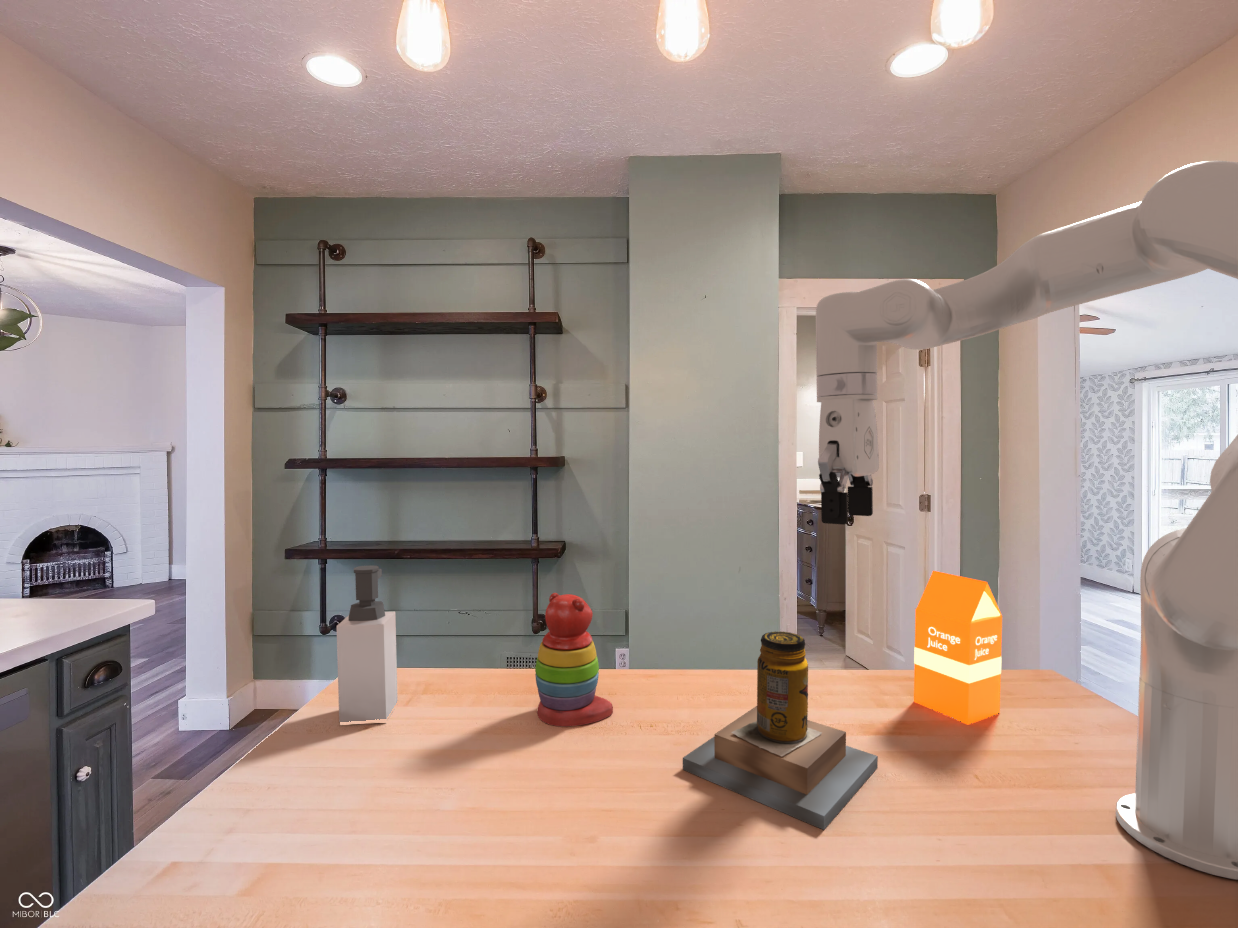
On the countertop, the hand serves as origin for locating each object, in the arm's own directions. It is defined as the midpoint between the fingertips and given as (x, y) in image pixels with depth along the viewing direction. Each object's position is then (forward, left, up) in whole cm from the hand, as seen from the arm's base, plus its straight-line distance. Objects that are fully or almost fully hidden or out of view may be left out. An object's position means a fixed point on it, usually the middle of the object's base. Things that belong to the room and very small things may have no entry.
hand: (848, 519), depth 83 cm
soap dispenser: (+57, +37, -30) cm, 75 cm away
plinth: (+3, +12, -30) cm, 33 cm away
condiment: (+3, +13, -26) cm, 29 cm away
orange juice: (-9, -21, -30) cm, 38 cm away
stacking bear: (+34, +18, -30) cm, 49 cm away
